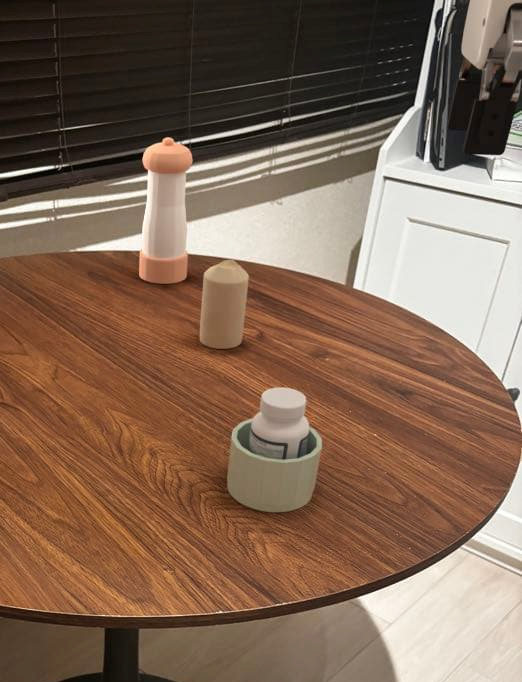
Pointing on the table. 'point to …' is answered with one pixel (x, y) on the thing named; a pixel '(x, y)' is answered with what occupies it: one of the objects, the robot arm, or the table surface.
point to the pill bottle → (280, 425)
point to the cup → (271, 474)
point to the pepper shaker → (165, 214)
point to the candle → (223, 305)
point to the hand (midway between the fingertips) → (473, 141)
